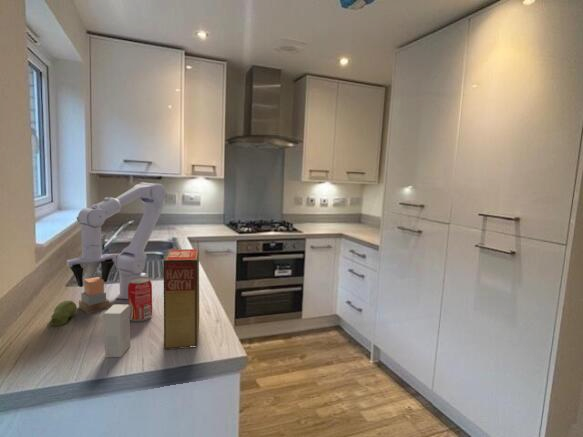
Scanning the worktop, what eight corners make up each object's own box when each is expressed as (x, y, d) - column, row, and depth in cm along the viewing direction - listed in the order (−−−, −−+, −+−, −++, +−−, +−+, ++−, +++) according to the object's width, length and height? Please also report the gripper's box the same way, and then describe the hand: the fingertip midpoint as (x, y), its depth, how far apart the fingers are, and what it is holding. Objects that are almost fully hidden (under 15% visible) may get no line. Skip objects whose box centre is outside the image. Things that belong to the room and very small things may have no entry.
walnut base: (100, 303, 123) (100, 295, 123) (109, 309, 119) (109, 300, 118) (79, 308, 118) (78, 300, 117) (87, 314, 113) (87, 306, 113)
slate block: (98, 297, 121) (98, 289, 121) (106, 301, 118) (105, 292, 117) (81, 301, 117) (81, 292, 116) (89, 305, 113) (88, 297, 113)
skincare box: (114, 345, 94) (113, 304, 92) (130, 345, 94) (130, 304, 93) (104, 357, 88) (103, 313, 86) (121, 357, 88) (120, 313, 87)
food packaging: (168, 327, 106) (168, 248, 103) (199, 326, 108) (201, 248, 105) (162, 349, 93) (162, 260, 90) (198, 347, 95) (199, 259, 92)
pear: (78, 297, 112) (64, 315, 102) (80, 311, 113) (66, 330, 104) (60, 297, 111) (43, 315, 101) (61, 312, 112) (46, 330, 103)
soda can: (156, 315, 114) (156, 278, 112) (140, 324, 107) (140, 284, 105) (139, 312, 116) (139, 274, 114) (123, 320, 109) (122, 280, 108)
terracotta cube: (98, 289, 120) (98, 276, 120) (103, 292, 117) (103, 279, 117) (84, 292, 117) (84, 279, 116) (89, 295, 114) (89, 282, 113)
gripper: (109, 239, 123) (109, 276, 125) (62, 245, 112) (64, 285, 113) (118, 243, 118) (118, 281, 120) (70, 248, 107) (72, 290, 109)
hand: (92, 283), depth 117 cm, fingers open, 7 cm apart
